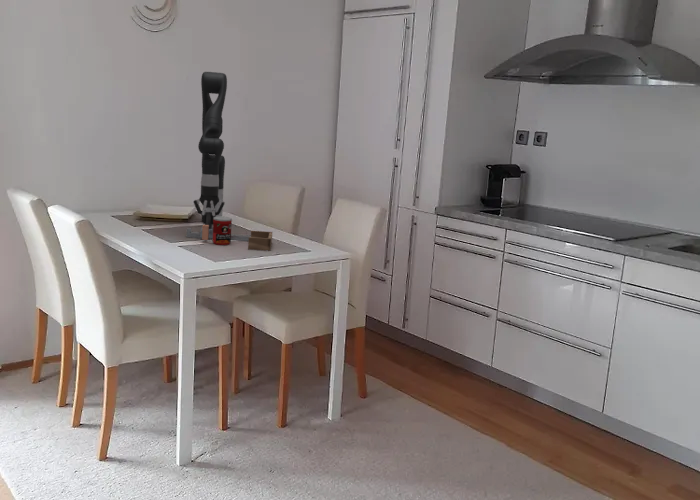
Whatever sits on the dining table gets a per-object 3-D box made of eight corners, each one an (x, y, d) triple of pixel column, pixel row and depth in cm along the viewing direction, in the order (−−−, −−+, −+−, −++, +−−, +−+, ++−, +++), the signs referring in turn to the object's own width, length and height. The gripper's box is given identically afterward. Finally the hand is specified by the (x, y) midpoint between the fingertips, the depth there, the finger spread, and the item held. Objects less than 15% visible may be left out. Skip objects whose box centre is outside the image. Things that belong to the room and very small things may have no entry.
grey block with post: (202, 235, 294) (202, 211, 292) (215, 236, 295) (216, 212, 293) (197, 241, 282) (198, 216, 280) (211, 242, 282) (212, 217, 280)
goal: (250, 241, 291) (251, 230, 290) (271, 243, 292) (272, 231, 291) (248, 249, 277) (248, 237, 276) (270, 250, 277) (270, 239, 276)
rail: (187, 235, 293) (187, 227, 292) (256, 240, 295) (256, 232, 295) (186, 237, 290) (186, 229, 289) (255, 241, 293) (256, 233, 292)
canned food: (215, 245, 279) (216, 219, 276) (210, 241, 286) (211, 216, 283) (233, 245, 282) (234, 219, 280) (227, 241, 289) (228, 216, 287)
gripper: (227, 184, 291) (225, 223, 295) (194, 182, 290) (193, 221, 294) (225, 186, 284) (223, 226, 288) (192, 184, 283) (190, 224, 287)
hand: (208, 223), depth 291 cm, fingers closed on grey block with post, 3 cm apart
